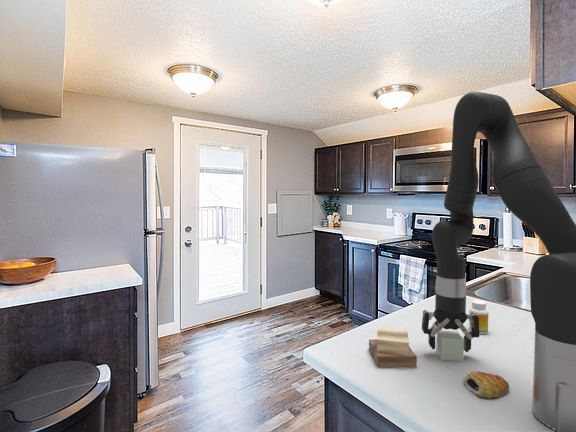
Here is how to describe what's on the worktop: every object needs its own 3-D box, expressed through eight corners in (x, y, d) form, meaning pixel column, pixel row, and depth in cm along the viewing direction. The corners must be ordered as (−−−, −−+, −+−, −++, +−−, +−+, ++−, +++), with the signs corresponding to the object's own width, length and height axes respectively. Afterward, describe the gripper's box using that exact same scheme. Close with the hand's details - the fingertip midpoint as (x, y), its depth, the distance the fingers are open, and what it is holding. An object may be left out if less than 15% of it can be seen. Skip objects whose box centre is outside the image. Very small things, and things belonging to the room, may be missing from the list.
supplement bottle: (490, 335, 103) (491, 305, 102) (472, 333, 104) (473, 304, 103) (484, 328, 108) (484, 299, 107) (466, 327, 109) (467, 299, 108)
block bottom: (416, 369, 84) (416, 356, 84) (378, 369, 84) (378, 356, 84) (403, 351, 94) (403, 339, 94) (368, 351, 94) (368, 339, 94)
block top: (408, 356, 84) (408, 342, 84) (376, 352, 86) (376, 339, 86) (407, 342, 91) (407, 330, 91) (378, 339, 94) (378, 327, 94)
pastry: (493, 379, 79) (493, 364, 78) (518, 396, 72) (519, 379, 72) (460, 384, 76) (460, 369, 76) (483, 402, 70) (483, 385, 70)
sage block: (463, 361, 87) (463, 339, 86) (441, 359, 88) (441, 338, 87) (456, 351, 92) (457, 331, 92) (436, 350, 93) (436, 330, 93)
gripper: (426, 295, 87) (425, 353, 88) (484, 297, 84) (482, 358, 85) (420, 287, 94) (419, 341, 95) (473, 289, 91) (472, 345, 92)
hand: (449, 349), depth 90 cm, fingers open, 8 cm apart
